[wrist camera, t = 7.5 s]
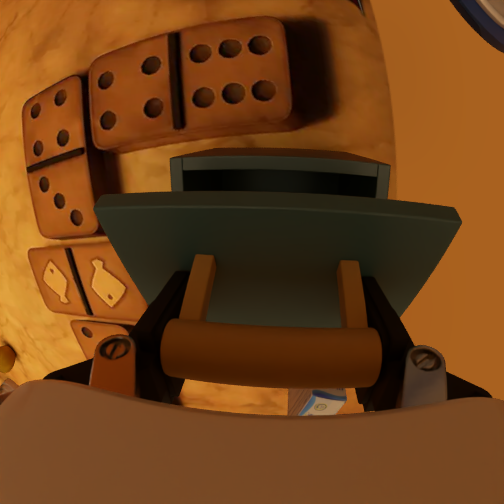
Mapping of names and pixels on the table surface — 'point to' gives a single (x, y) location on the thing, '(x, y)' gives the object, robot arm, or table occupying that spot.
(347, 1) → the table surface
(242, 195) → the lid
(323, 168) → the chest
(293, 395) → the medicine box
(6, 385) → the lantern
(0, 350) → the apple
